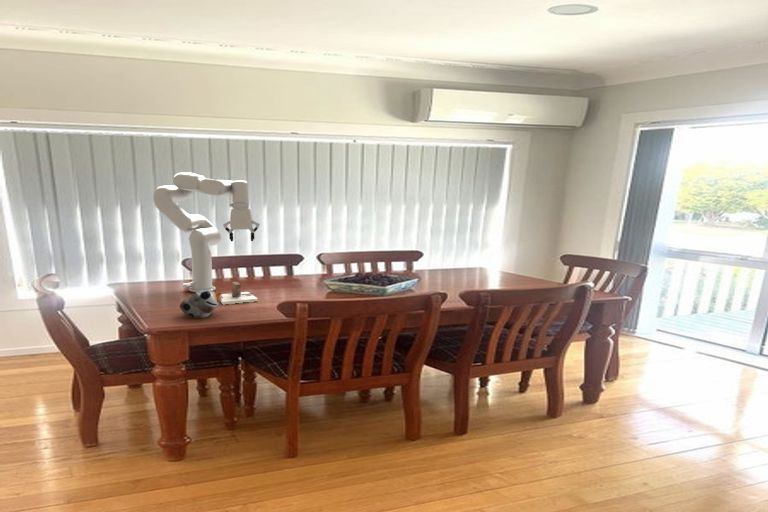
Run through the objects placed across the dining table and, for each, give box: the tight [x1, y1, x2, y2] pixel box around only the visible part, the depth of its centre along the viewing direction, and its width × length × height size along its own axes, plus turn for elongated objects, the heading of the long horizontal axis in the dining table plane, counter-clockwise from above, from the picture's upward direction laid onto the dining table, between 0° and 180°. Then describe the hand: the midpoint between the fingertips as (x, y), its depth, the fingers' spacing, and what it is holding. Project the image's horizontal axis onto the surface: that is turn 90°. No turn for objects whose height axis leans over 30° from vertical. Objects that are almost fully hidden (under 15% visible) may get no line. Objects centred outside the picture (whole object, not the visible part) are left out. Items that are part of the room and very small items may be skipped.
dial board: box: [220, 291, 258, 306], centre depth 242 cm, size 16×16×2 cm
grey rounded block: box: [179, 289, 223, 320], centre depth 213 cm, size 15×12×14 cm
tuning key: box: [230, 281, 254, 297], centre depth 243 cm, size 10×7×6 cm
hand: (242, 240), depth 250 cm, fingers open, 9 cm apart
